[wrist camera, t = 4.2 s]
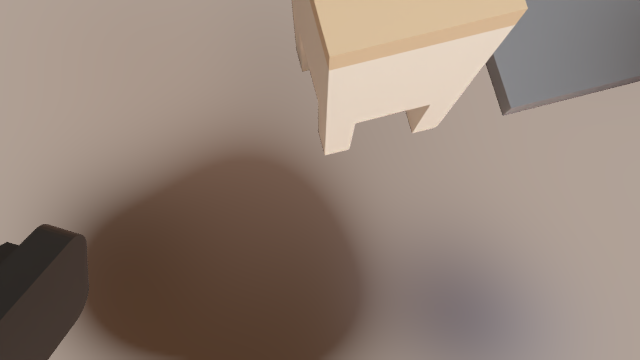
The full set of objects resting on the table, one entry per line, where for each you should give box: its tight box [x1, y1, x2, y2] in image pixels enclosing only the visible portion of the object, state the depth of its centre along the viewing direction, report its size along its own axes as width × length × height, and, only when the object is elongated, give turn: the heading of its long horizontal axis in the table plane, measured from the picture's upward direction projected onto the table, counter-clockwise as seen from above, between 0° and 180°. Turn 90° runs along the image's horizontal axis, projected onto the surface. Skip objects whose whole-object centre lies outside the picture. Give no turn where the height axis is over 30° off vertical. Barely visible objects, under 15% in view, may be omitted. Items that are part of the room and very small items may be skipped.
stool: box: [292, 0, 528, 155], centre depth 21 cm, size 6×6×12 cm
